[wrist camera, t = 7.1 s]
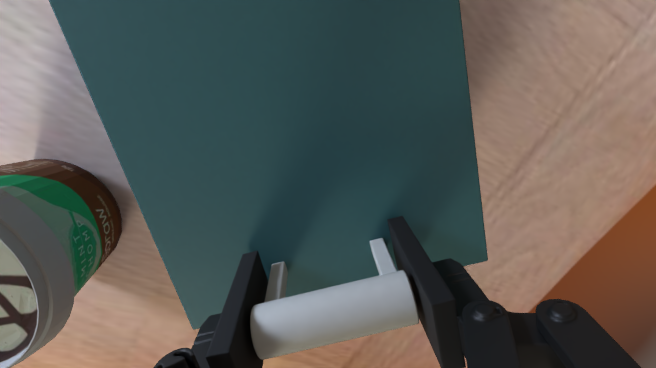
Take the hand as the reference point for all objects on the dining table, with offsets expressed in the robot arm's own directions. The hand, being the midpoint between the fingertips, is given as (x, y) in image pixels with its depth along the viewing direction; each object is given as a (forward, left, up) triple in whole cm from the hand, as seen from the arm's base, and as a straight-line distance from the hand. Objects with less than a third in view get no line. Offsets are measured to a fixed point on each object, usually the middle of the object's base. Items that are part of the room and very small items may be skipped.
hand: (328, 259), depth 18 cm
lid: (0, +6, -1) cm, 7 cm away
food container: (-18, +2, -11) cm, 21 cm away
